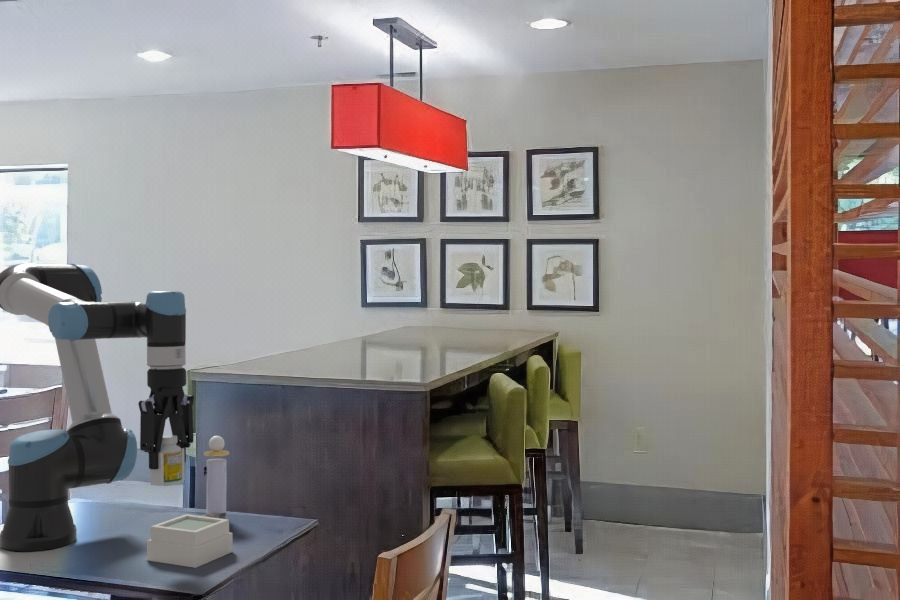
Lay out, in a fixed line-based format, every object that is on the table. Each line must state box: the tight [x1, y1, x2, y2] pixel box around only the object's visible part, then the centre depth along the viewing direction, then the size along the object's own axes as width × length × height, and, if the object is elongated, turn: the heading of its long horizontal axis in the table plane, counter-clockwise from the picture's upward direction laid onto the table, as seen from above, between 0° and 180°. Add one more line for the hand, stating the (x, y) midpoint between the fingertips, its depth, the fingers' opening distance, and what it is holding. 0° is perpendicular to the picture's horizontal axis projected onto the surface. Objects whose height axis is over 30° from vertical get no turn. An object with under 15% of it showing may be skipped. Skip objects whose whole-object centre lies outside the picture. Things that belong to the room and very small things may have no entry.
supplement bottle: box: [160, 434, 182, 487], centre depth 188 cm, size 5×5×10 cm
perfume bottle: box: [203, 435, 230, 514], centre depth 219 cm, size 6×6×20 cm
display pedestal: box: [146, 513, 234, 569], centre depth 190 cm, size 12×12×7 cm
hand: (167, 482), depth 188 cm, fingers closed on supplement bottle, 5 cm apart
